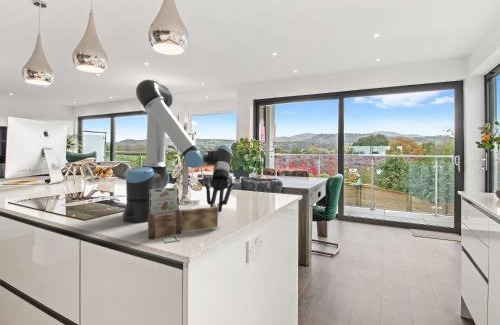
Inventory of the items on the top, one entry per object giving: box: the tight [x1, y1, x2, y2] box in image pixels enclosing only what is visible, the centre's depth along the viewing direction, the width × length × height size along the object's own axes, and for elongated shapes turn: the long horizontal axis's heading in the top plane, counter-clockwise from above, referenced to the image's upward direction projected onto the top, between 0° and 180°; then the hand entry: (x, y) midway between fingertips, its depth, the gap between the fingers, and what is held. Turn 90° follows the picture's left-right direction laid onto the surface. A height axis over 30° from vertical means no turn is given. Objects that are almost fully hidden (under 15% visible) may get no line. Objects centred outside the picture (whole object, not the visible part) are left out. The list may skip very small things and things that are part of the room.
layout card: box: [161, 234, 181, 244], centre depth 100 cm, size 6×5×1 cm
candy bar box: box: [149, 187, 180, 216], centre depth 113 cm, size 11×5×16 cm, turn 114°
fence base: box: [147, 208, 183, 241], centre depth 104 cm, size 13×2×9 cm, turn 129°
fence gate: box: [181, 206, 219, 232], centre depth 111 cm, size 14×2×8 cm, turn 117°
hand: (214, 218), depth 117 cm, fingers closed
